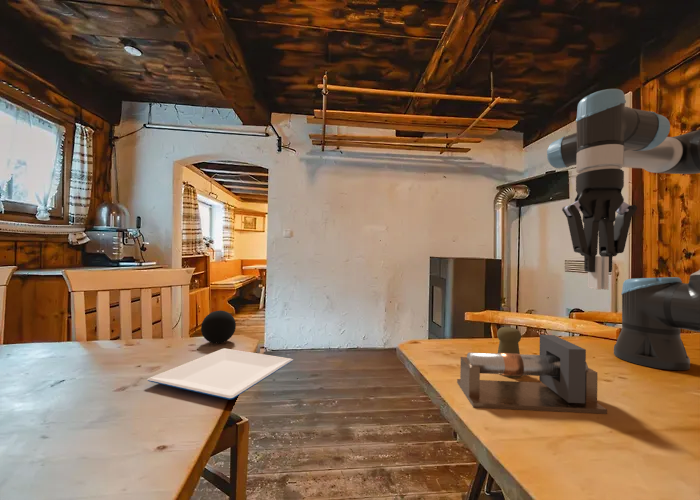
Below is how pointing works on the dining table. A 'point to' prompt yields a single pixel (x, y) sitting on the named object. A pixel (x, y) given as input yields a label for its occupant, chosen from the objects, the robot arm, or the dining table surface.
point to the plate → (222, 372)
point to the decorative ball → (218, 327)
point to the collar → (565, 368)
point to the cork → (509, 342)
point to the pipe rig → (521, 383)
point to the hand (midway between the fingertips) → (597, 288)
